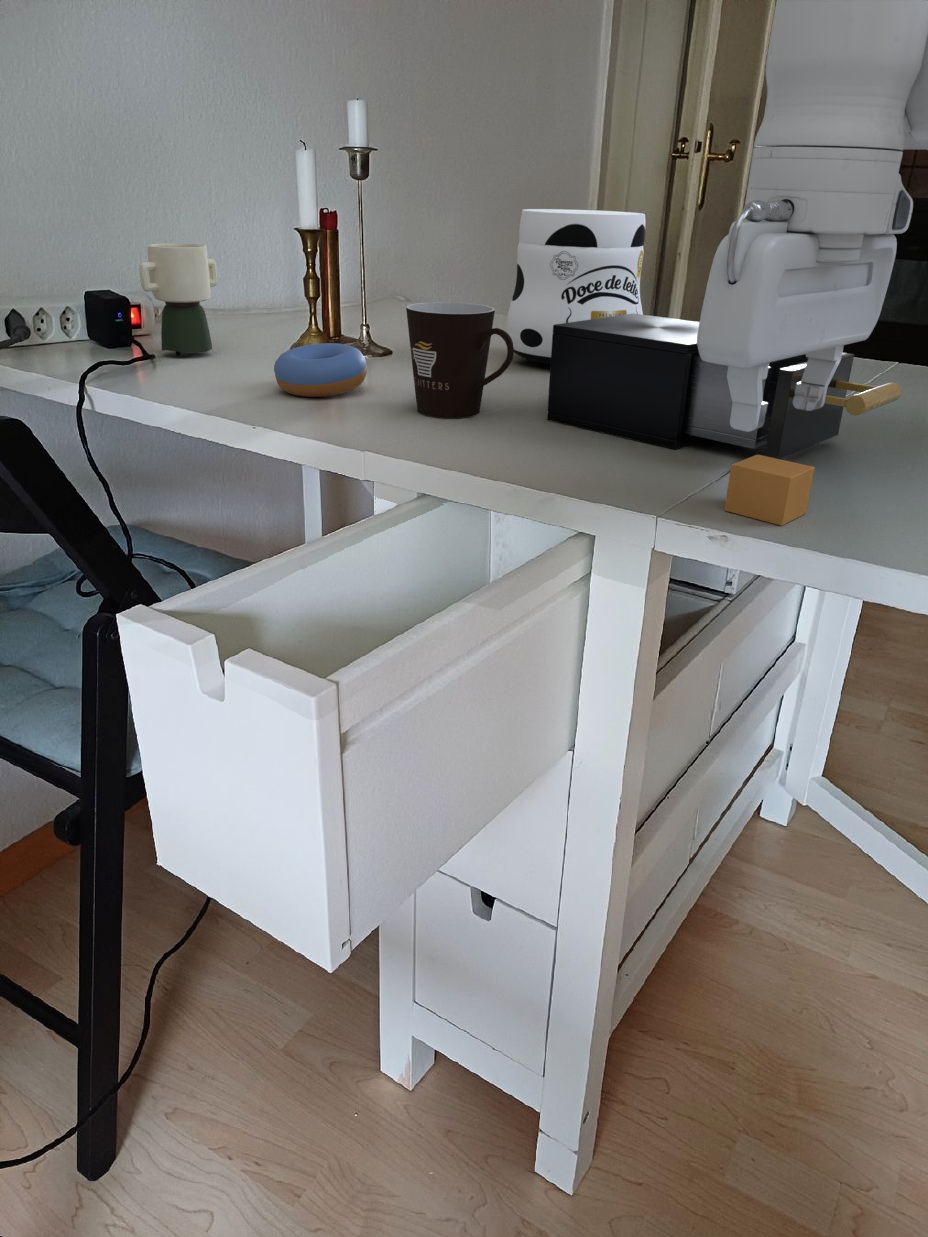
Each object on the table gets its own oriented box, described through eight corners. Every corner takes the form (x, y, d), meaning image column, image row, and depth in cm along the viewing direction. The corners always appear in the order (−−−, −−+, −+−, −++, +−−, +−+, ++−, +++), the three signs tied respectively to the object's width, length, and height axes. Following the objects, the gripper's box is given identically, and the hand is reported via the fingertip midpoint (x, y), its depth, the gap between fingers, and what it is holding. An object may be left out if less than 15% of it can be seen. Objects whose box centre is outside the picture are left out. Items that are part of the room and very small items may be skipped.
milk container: (608, 381, 110) (624, 216, 103) (481, 364, 118) (487, 209, 110) (657, 360, 124) (674, 213, 116) (540, 346, 132) (548, 207, 124)
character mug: (206, 346, 124) (197, 242, 119) (239, 353, 120) (231, 245, 115) (134, 355, 117) (120, 244, 111) (167, 363, 113) (154, 248, 107)
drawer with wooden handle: (897, 446, 82) (917, 362, 79) (840, 474, 74) (860, 381, 71) (707, 409, 94) (718, 335, 91) (639, 429, 85) (648, 348, 82)
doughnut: (285, 403, 95) (283, 357, 93) (267, 384, 104) (264, 341, 102) (378, 397, 99) (378, 353, 97) (353, 379, 107) (352, 338, 105)
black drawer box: (747, 425, 92) (762, 330, 88) (675, 449, 83) (688, 344, 79) (623, 400, 101) (632, 313, 97) (546, 420, 92) (552, 324, 88)
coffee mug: (394, 404, 96) (394, 303, 92) (471, 399, 99) (474, 301, 95) (433, 431, 86) (435, 319, 82) (517, 425, 89) (523, 317, 85)
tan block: (806, 513, 68) (815, 466, 66) (781, 526, 65) (790, 477, 63) (749, 499, 70) (757, 454, 69) (723, 510, 68) (731, 464, 66)
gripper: (791, 202, 50) (749, 453, 56) (923, 204, 64) (877, 406, 70) (688, 197, 54) (659, 433, 60) (834, 200, 67) (798, 392, 73)
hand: (778, 418), depth 65 cm, fingers open, 8 cm apart
